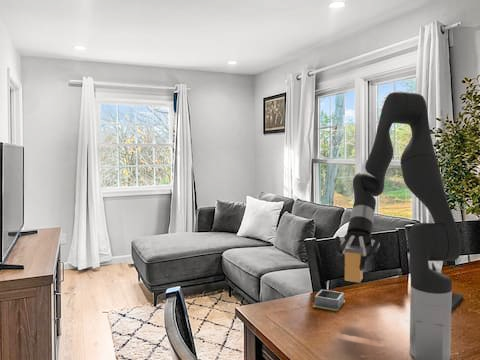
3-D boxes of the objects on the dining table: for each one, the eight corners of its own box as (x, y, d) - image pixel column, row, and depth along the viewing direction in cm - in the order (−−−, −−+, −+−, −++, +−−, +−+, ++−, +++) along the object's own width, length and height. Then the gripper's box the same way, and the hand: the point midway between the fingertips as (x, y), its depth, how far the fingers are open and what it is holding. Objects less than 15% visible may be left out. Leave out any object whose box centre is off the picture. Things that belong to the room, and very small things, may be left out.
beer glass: (421, 287, 150) (422, 248, 149) (422, 282, 156) (423, 244, 155) (442, 290, 147) (442, 250, 146) (442, 285, 153) (443, 246, 152)
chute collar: (338, 309, 127) (338, 300, 126) (314, 305, 130) (314, 296, 130) (343, 301, 133) (343, 292, 133) (321, 297, 137) (321, 289, 137)
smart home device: (420, 305, 129) (438, 289, 144) (420, 310, 130) (438, 294, 144) (448, 311, 124) (464, 294, 139) (447, 317, 124) (463, 299, 139)
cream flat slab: (337, 314, 126) (337, 310, 126) (313, 310, 129) (313, 306, 129) (345, 304, 134) (345, 300, 134) (321, 300, 138) (321, 296, 138)
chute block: (359, 282, 119) (360, 249, 119) (344, 280, 122) (344, 248, 121) (362, 278, 123) (363, 246, 123) (348, 276, 125) (348, 245, 125)
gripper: (337, 214, 131) (326, 258, 121) (382, 216, 124) (375, 264, 115) (341, 227, 136) (331, 271, 126) (385, 230, 129) (378, 277, 120)
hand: (352, 267), depth 120 cm, fingers closed on chute block, 4 cm apart
